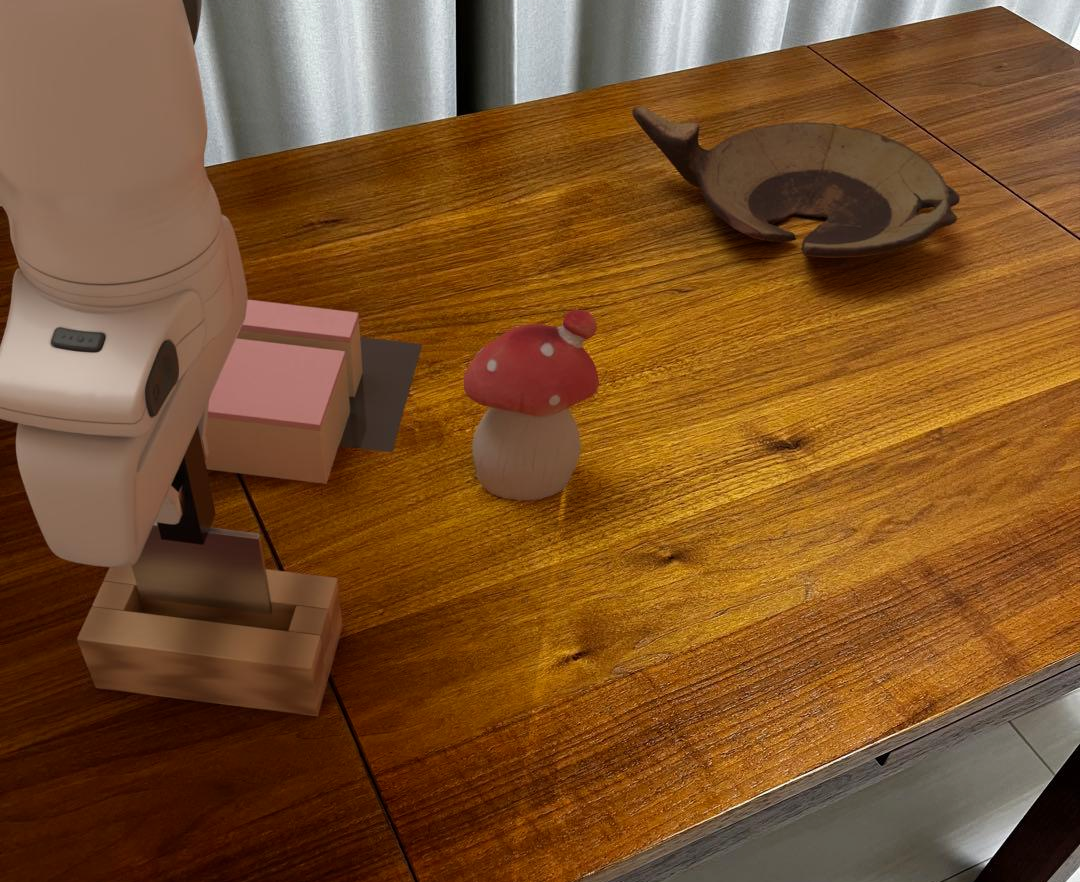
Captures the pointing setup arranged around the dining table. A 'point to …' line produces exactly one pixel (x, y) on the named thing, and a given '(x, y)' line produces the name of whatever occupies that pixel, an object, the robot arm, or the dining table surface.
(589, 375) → the decorative ornament
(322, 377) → the cake
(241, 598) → the knife
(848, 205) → the broken brown bowl
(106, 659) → the knife block
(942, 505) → the dining table surface
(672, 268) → the dining table surface
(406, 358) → the cake board
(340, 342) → the cake slice
